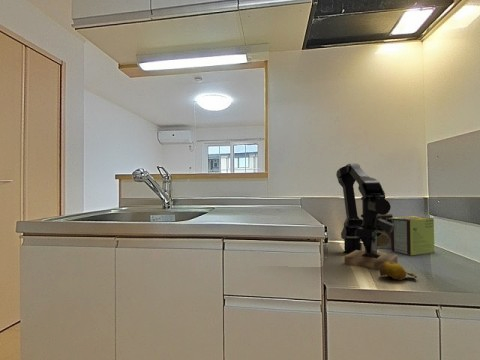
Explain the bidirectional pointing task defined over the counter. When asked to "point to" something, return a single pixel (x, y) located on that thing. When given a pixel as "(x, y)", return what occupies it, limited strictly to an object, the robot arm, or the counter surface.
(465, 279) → the counter surface
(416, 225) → the protein box
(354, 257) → the dock
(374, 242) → the grey and teal cylinder
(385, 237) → the coffee box
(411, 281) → the counter surface
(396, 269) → the fruit
